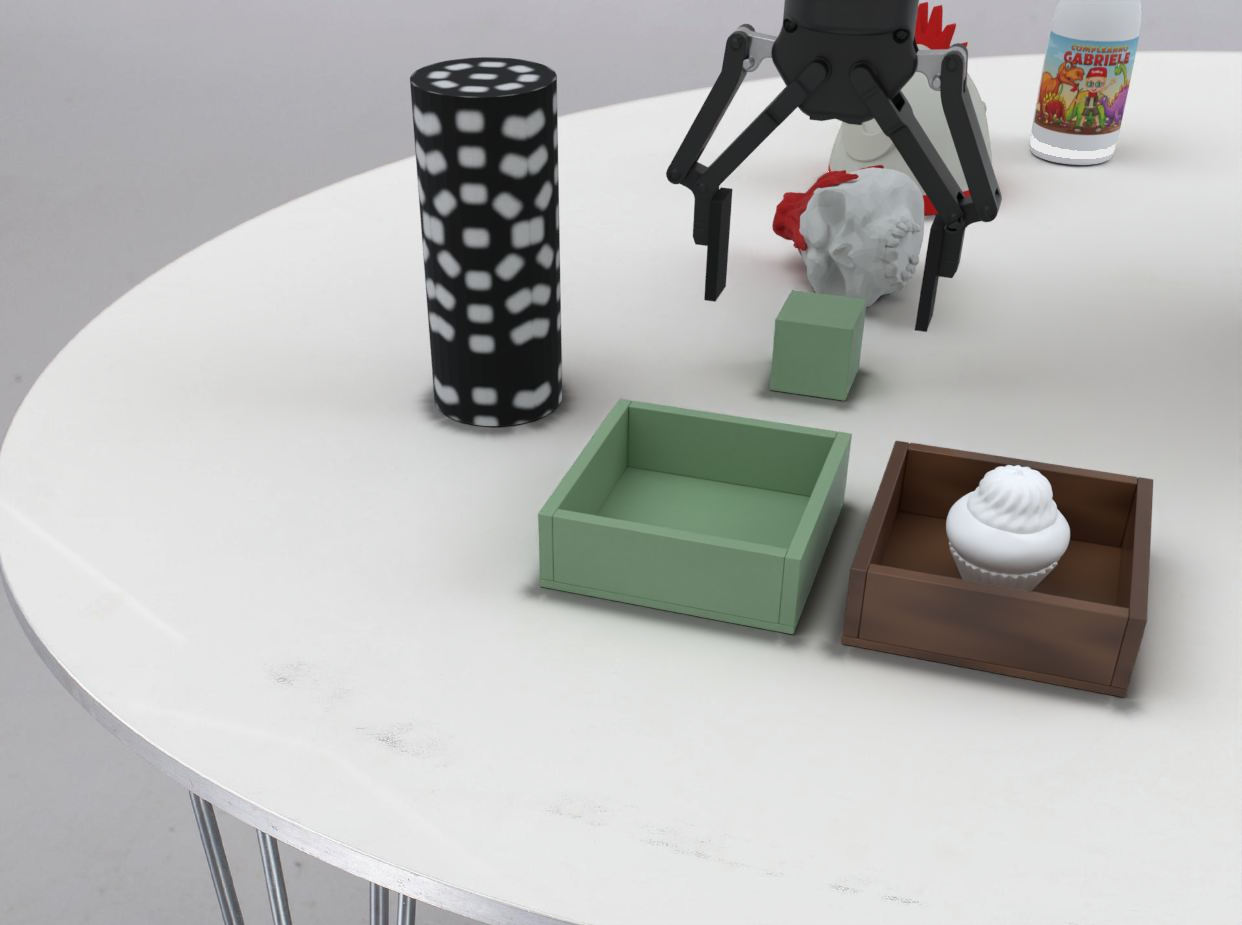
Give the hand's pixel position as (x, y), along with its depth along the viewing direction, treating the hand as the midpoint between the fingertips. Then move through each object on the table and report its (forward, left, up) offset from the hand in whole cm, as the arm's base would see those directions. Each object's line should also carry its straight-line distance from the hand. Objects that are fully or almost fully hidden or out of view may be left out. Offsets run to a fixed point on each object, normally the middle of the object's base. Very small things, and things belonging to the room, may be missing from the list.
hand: (817, 308), depth 92 cm
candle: (+1, -17, -5) cm, 18 cm away
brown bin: (-14, +22, -5) cm, 27 cm away
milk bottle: (-13, -54, -5) cm, 56 cm away
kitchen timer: (0, -40, -5) cm, 40 cm away
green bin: (+2, +22, -5) cm, 23 cm away
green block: (0, 0, -5) cm, 5 cm away
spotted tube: (+19, +9, -5) cm, 21 cm away
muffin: (-14, +22, -5) cm, 27 cm away
